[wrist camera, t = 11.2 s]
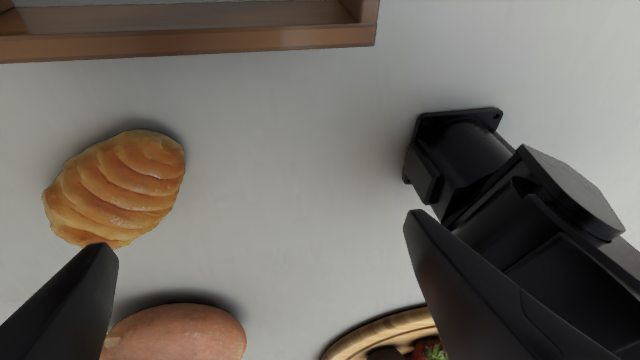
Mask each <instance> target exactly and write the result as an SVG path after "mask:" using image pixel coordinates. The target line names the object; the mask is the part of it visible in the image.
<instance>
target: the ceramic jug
mask: <svg viewBox="0 0 640 360" xmlns="http://www.w3.org/2000/svg"><path fill="white" fill-rule="evenodd" d="M246 343H247V341H246V335H245V331H244V329H243V327H242V325H241V324H240V323H239V321H238V320H237V319H236V318H234V317H233V316H232V315H230V314H229V313H227V312H225V311H223V310H221V309H218V308H215V307H212V306H207V305H202V304H195V303H175V304H165V305H160V306H156V307H152V308H148V309H145V310H142V311H139V312H137V313H134V314H132V315H130V316H128V317H126V318H125V319H123V320H121V321H120V322H118V323H117V324H116V325H115V326H114V327H113V328H112V329H111V330H110V331H109V332H108V334H107V335H106V337H105V341H104V344H103V348H102V352H101V355H100V359H99V360H241V358H242V356H243V354H244V352H245V349H246Z"/></svg>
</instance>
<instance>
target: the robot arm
mask: <svg viewBox="0 0 640 360" xmlns="http://www.w3.org/2000/svg"><path fill="white" fill-rule="evenodd" d="M495 114H496V115H495ZM494 115H495V116H494ZM502 116H503V112H502V111H501V110H500V109H499V108H487V109H475V110H462V111H450V112H437V113H425V114H422V115H420V116H419V117H418V119H417V122H416V126H415V130H414V134H413V137H412V141H411V142H410V144H409V147H408V151H407V155H406V159H405V162H404V166H403V169H404V172H403V176H402V180H403V182H404V183H405V184H412V185H413V187H414V188H415V190H416V192H417V194H418V195H419V197H420V199H421V201H422V202H423V203H424V204H425V205H430V206H431V208H432V209H433V211H434V213H435V214H436V216H437V218H438V220H439V221H440V223H441V224H440V223H439V222H438V221H436V220H435V219H434V218H433V217H431V216H430V215H429V214H428V213H426V212H425V211H424V210H422V209H414V210H410V211H409V212H408V213H407V216H406V219H405V222H404V225H403V233H404V237H405V240H406V244H407V247H408V251H409V255H410V258H411V262H412V265H413V269H414V272H415V275H416V278H417V281H418V283H419V286H420V288H421V291H422V293H423V296H424V298H425V301H426V303H427V306H428V308H429V311H430V313H431V316H432V318H433V321H434V323H435V326H436V328H437V331H438V333H439V336H440V338H441V341H442V343H443V345H444V348H445V350H446V353H447V355H448V358H449V360H640V252H639V251H638V250H636V249H635V248H634V247H633V246H632V245H630V244H629V243H628V242H627V241H626V240H624V239H623V238H622V237H621V236H620V234H622V233H624V232H625V231H626V230H625V228H624V226H623V224H622V223H621V221H620V220H619V218H618V217H617V215H616V214H615V212H614V211H613V209H612V208H611V206H610V205H609V203H608V202H607V200H606V199H605V197H604V196H603V194H602V193H601V191H600V190H599V189H598V188H597V187H596V186H595V185H594V184H592V183H591V182H590V181H589V180H587V179H586V178H585V177H583V176H582V175H581V174H579V173H578V172H577V171H575V170H574V169H573V168H571V167H570V166H569V165H567V164H566V163H564V162H562V161H559V160H557V159H555V158H553V157H551V156H549V155H546V154H544V153H542V152H540V151H538V150H536V149H533V148H531V147H529V146H527V145H525V144H522V145H520V146H519V147H518V148H517V149H516V150H515V149H514V148H513V147H512V146H511V145H510V144H508V143H507V142H506V141H505V140H504V139H503V138H502V137H501V136H500V135H499V134H498V133H497V132H496V129H497V127H498V125H499V123H500V120H501V118H502ZM426 119H427V120H426ZM424 120H426V121H425V122H423V121H424ZM408 178H409V179H408ZM118 269H119V260H118V257H117V256H116V254H115V253H114V252H113V250H112V249H111V247H110V246H109V244H108V243H106V242H96V243H90V244H88V245H86V246H85V247H84V248H83V249H82V250H81V251H80V252H79V253H78V254H77V255H76V256H74V257H73V258H72V259H71V260H70V261H69V262H68V263H67V264H66V265H65V266H64V267H63V268H62V269H61V270H59V271H58V272H57V273H56V274H55V275H54V276H53V277H52V278H51V279H50V280H49V281H48V282H47V283H46V284H44V285H43V286H42V287H41V288H40V289H39V290H38V291H37V292H36V293H35V294H34V295H33V296H32V297H31V298H29V299H28V300H27V301H26V302H25V303H24V304H23V305H22V306H21V307H20V308H19V309H18V310H17V311H16V312H14V313H13V314H12V315H11V316H10V317H9V318H8V319H7V320H6V321H5V322H4V323H3V324H2V325H1V326H0V360H99V359H100V355H101V352H102V348H103V344H104V341H105V337H106V334H107V330H108V326H109V322H110V318H111V313H112V308H113V301H114V295H115V288H116V282H117V275H118Z"/></svg>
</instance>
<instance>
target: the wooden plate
mask: <svg viewBox="0 0 640 360" xmlns="http://www.w3.org/2000/svg"><path fill="white" fill-rule="evenodd" d="M321 360H449V358H448V355H447V353H446V350H445V348H444V345H443V343H442V341H441V338H440V336H439V333H438V331H437V328H436V326H435V323H434V321H433V318H432V316H431V313H430V311H429V308H428V307H423V308H418V309H413V310H408V311H404V312H401V313H397V314H394V315H391V316H387V317H385V318H382V319H379V320H377V321H375V322H372V323H370V324H367V325H365V326H363V327H361V328H358V329H356V330H355V331H353V332H351V333H349V334H347V335H346V336H344V337H343V338H341V339H340V340H338V341H337V342H336V343H334V344H333V345H332V346H331V347H330V348H329V349H328V350H327V351H326V352H325V353H324V355H323V356H322V358H321Z"/></svg>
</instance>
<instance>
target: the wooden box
mask: <svg viewBox="0 0 640 360" xmlns="http://www.w3.org/2000/svg"><path fill="white" fill-rule="evenodd" d="M379 3H380V0H300V1H260V2H221V3H181V4H142V5H102V6H63V7H23V8H13V7H14V4H13V3H12V1H11V0H0V64H8V63H29V62H50V61H72V60H93V59H114V58H135V57H156V56H177V55H199V54H220V53H241V52H262V51H283V50H304V49H325V48H347V47H368V46H374V44H375V36H376V29H377V19H378V11H379Z"/></svg>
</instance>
